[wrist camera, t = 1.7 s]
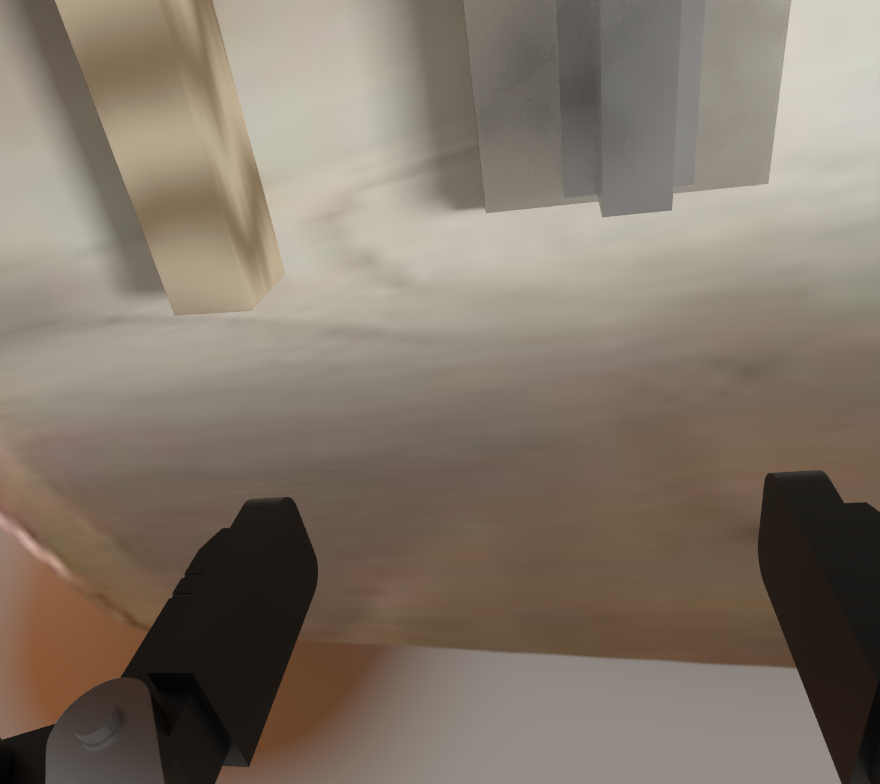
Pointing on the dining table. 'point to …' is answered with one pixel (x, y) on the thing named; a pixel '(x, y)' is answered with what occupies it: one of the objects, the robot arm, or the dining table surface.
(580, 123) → the ridge
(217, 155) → the beech batten
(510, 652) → the dining table surface
